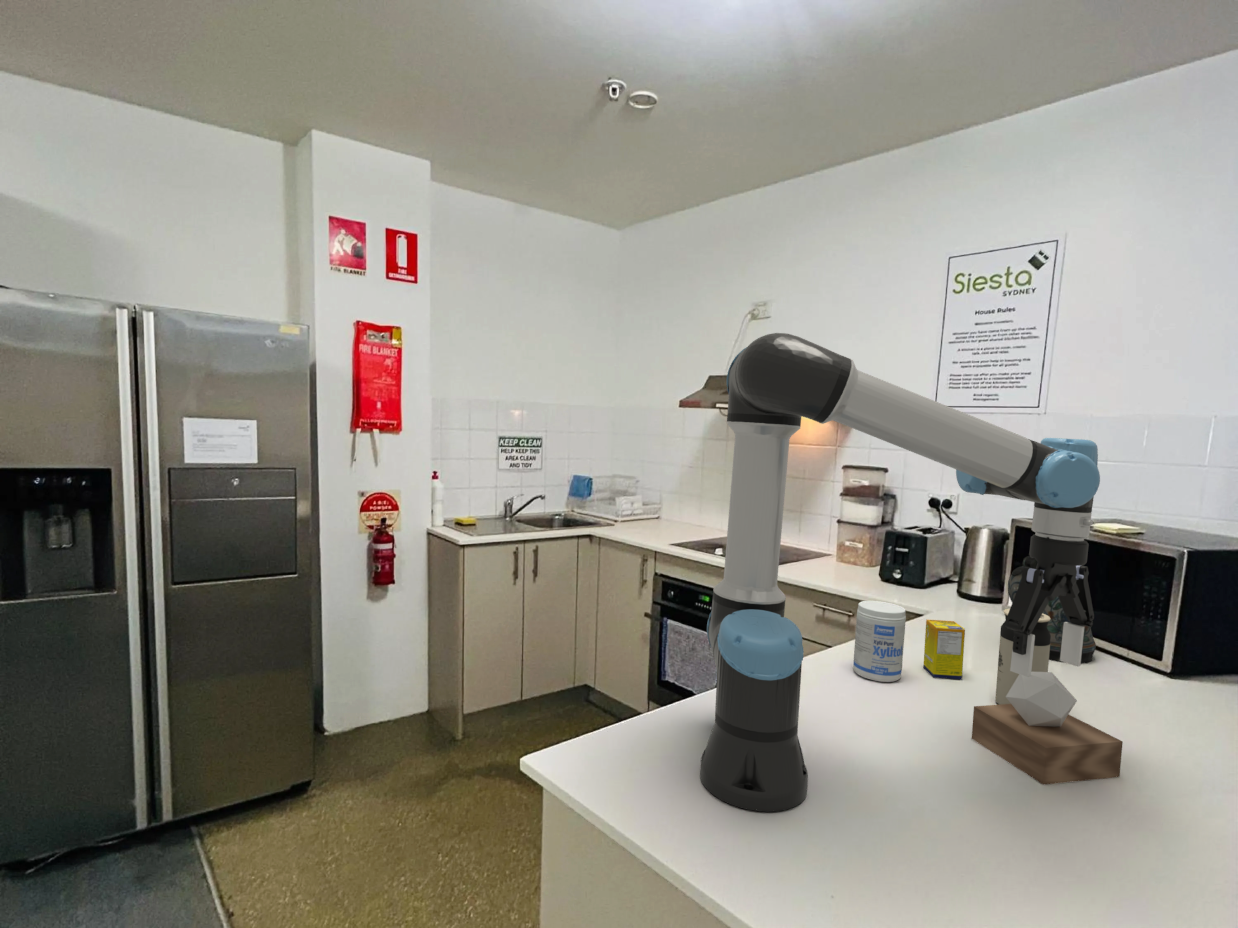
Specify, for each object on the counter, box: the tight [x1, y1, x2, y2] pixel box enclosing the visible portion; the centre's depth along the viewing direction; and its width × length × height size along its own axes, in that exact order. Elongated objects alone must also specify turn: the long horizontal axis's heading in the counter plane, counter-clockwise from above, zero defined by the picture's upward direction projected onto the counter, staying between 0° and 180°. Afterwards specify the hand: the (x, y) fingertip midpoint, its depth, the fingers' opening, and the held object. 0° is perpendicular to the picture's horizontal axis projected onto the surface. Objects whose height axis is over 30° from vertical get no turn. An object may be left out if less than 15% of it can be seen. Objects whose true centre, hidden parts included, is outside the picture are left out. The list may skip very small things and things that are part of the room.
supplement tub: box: [852, 600, 907, 683], centre depth 134 cm, size 10×10×15 cm
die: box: [1006, 671, 1078, 727], centre depth 102 cm, size 8×9×10 cm
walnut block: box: [971, 704, 1124, 785], centre depth 102 cm, size 14×14×6 cm
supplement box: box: [922, 619, 966, 680], centre depth 136 cm, size 6×6×11 cm
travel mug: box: [995, 608, 1051, 705], centre depth 121 cm, size 8×8×18 cm
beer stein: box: [1007, 555, 1097, 664], centre depth 153 cm, size 16×19×25 cm
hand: (1045, 668), depth 102 cm, fingers open, 13 cm apart
